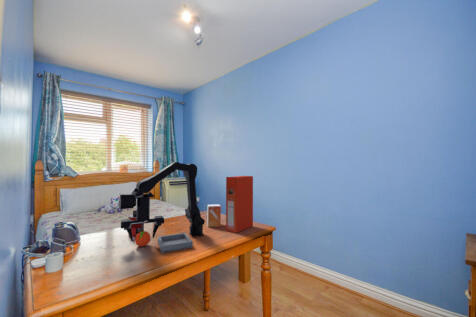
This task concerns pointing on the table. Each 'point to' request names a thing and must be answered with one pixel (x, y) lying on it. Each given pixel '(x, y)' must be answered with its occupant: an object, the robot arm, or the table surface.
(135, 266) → the table surface
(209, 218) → the small box
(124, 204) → the robot arm
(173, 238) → the tray
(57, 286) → the table surface
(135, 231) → the canned food
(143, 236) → the clementine
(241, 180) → the file binder
